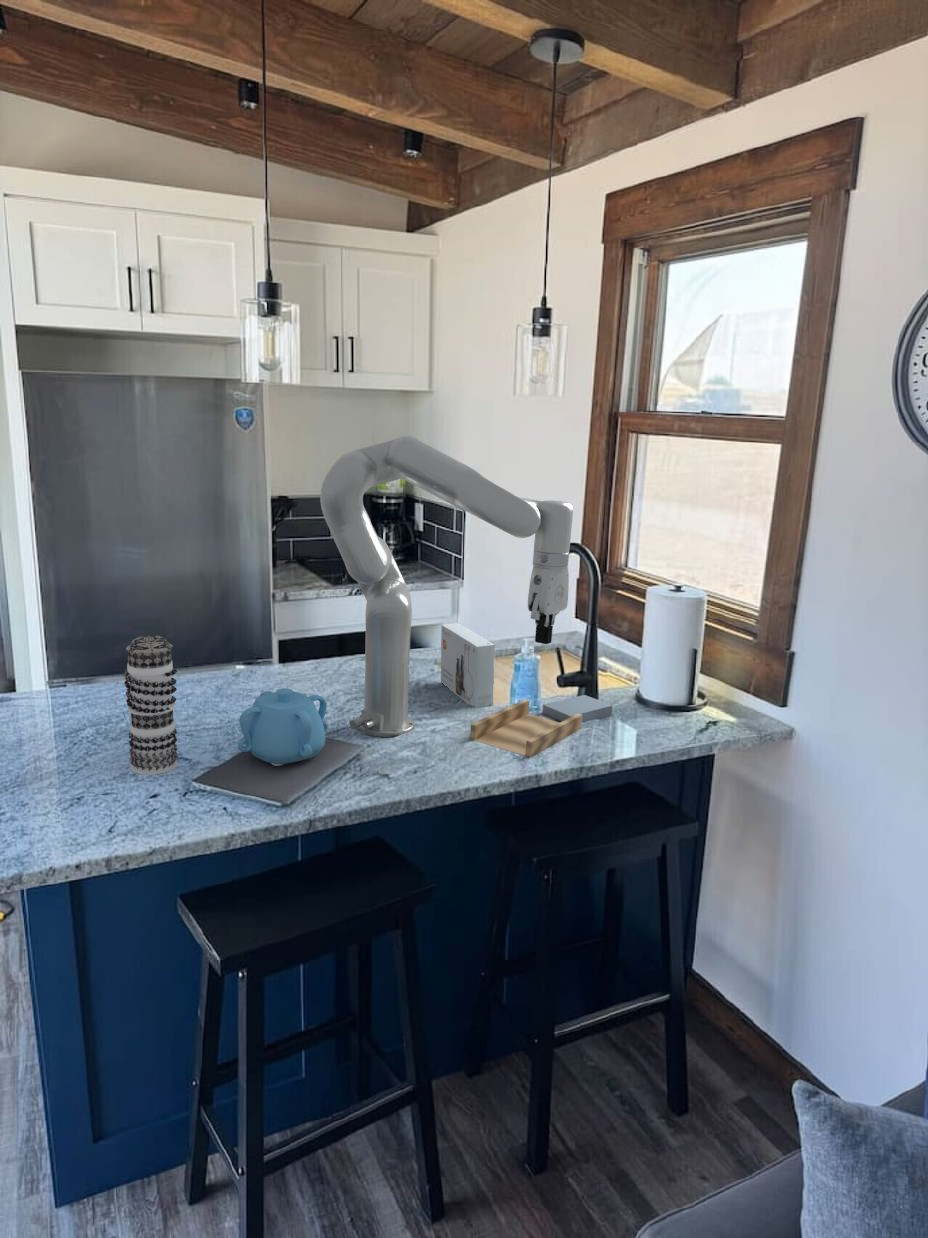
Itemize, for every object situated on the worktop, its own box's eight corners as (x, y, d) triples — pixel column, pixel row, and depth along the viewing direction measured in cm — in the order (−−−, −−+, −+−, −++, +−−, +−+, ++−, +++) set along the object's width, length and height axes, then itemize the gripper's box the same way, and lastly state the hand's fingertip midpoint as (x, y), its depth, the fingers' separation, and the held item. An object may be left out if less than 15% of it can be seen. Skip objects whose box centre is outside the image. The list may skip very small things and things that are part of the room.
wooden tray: (530, 759, 172) (531, 742, 171) (470, 741, 180) (470, 724, 179) (581, 730, 189) (582, 714, 188) (524, 714, 198) (525, 699, 197)
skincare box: (438, 683, 218) (440, 623, 214) (457, 681, 220) (460, 622, 216) (473, 710, 199) (476, 645, 195) (493, 708, 201) (497, 643, 198)
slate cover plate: (569, 728, 191) (570, 716, 191) (542, 716, 198) (543, 704, 198) (611, 717, 200) (612, 705, 199) (583, 706, 207) (584, 694, 206)
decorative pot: (227, 765, 162) (225, 698, 159) (263, 735, 178) (262, 673, 174) (307, 776, 159) (307, 708, 156) (336, 745, 175) (337, 682, 171)
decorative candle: (162, 752, 167) (157, 629, 161) (189, 766, 161) (185, 639, 155) (119, 765, 160) (112, 638, 154) (145, 780, 154) (139, 648, 148)
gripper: (548, 565, 171) (540, 652, 176) (582, 558, 183) (574, 640, 188) (517, 560, 176) (510, 645, 180) (552, 553, 188) (545, 633, 192)
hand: (543, 642), depth 184 cm, fingers closed
